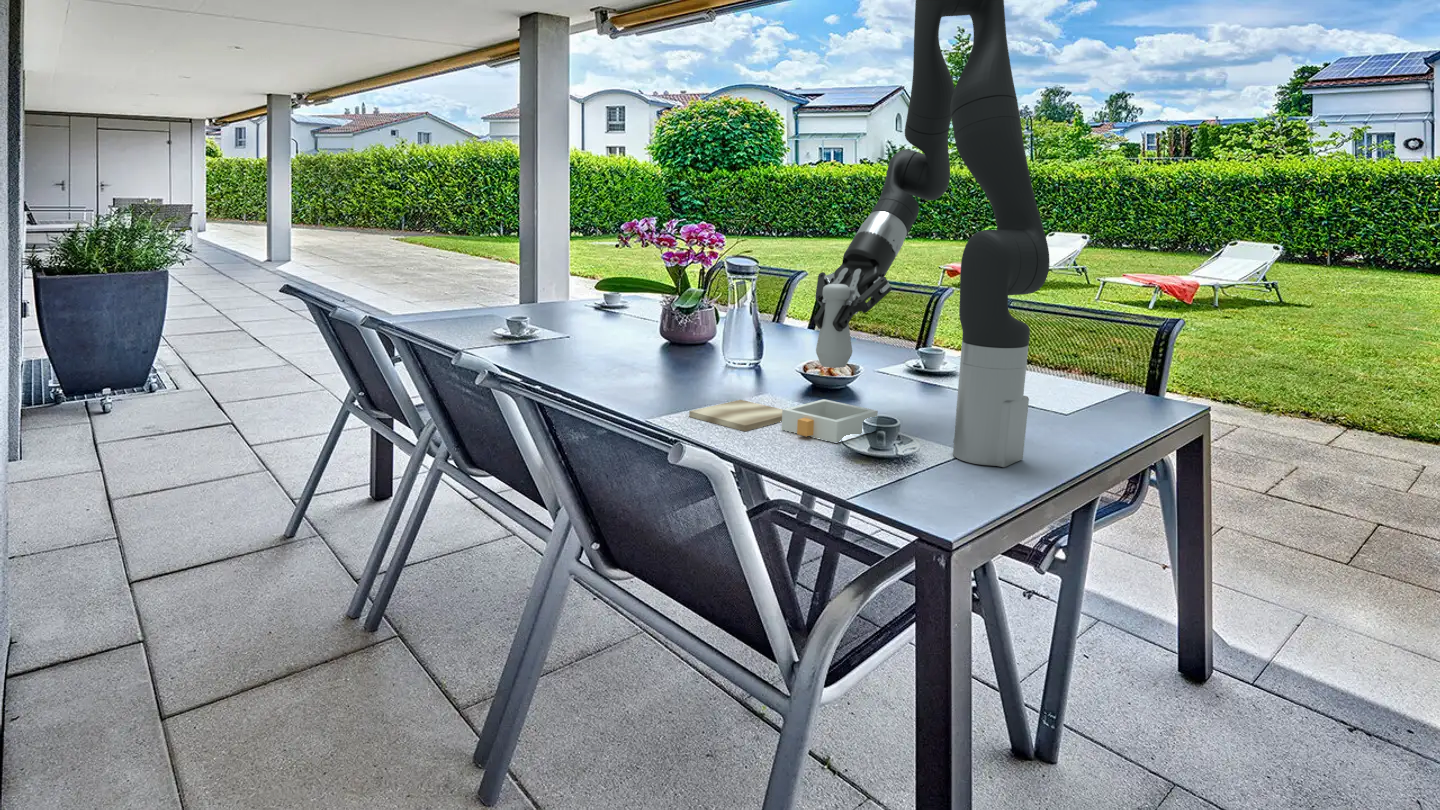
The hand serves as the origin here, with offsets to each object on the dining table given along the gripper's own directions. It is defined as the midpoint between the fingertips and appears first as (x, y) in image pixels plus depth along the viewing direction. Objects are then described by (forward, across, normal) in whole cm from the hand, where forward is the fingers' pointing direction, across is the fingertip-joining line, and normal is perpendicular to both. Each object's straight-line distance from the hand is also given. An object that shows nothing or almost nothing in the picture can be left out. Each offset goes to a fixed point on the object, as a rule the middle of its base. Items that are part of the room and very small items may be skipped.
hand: (827, 326), depth 140 cm
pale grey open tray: (+11, 0, +14) cm, 17 cm away
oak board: (+14, -16, +10) cm, 23 cm away
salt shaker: (+3, 0, +6) cm, 7 cm away
